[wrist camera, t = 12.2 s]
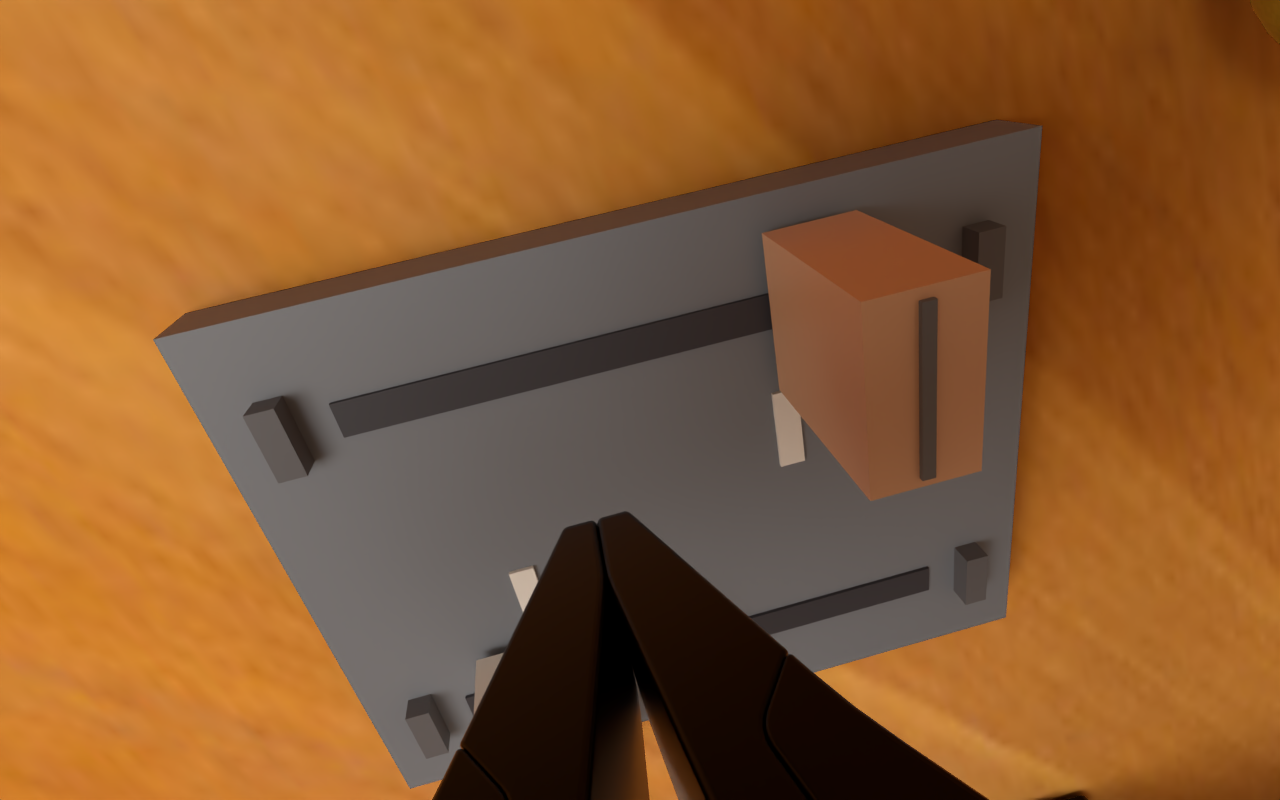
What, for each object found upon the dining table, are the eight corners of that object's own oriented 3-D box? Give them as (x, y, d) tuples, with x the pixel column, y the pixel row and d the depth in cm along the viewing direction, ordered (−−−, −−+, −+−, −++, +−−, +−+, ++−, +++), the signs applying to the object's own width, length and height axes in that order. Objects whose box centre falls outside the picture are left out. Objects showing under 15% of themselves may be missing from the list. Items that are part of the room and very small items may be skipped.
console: (975, 583, 22) (1018, 631, 20) (416, 742, 21) (407, 808, 19) (996, 120, 16) (1063, 128, 14) (185, 313, 14) (138, 351, 13)
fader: (864, 368, 16) (985, 474, 12) (779, 390, 16) (873, 504, 12) (856, 210, 14) (995, 271, 10) (762, 232, 14) (863, 304, 10)
